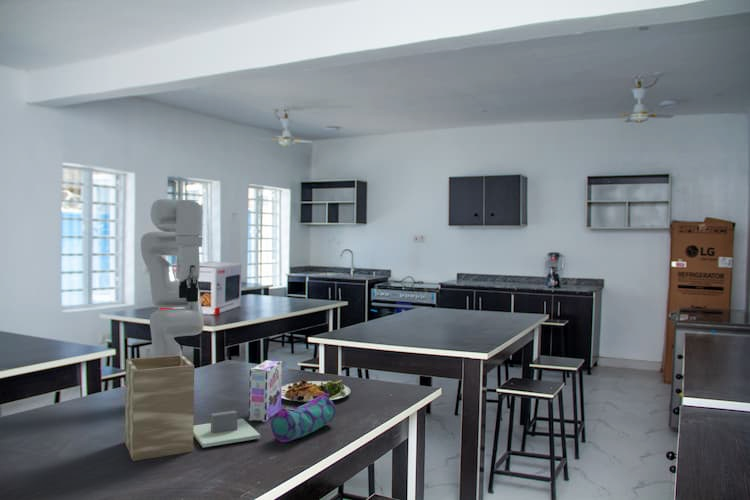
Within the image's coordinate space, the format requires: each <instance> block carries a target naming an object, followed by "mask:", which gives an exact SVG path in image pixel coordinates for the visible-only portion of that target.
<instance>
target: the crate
mask: <svg viewBox="0 0 750 500" xmlns="http://www.w3.org/2000/svg"><path fill="white" fill-rule="evenodd" d="M124 397H125V403H124V404H125V406H124V407H125V413H124V416H125V418H124V444H125V445H126V447H127V450H128V452H129V454H130V457H131V460H132V462H134V461H141V460H147V459H153V458H154V459H155V458H160V457H165V456H171V455H178V454H183V453H190V452H194V435H193V428H194V421H195V419H194V417H195V415H194V413H195V365H194V364H193V363H192V362H191V361H190V360H189V359H188V358H186V357H185V356H184V355H183V354H182V355H172V356H160V357H152V356H150V357H137V358H125V396H124Z"/></svg>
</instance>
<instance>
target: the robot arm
mask: <svg viewBox="0 0 750 500" xmlns="http://www.w3.org/2000/svg"><path fill="white" fill-rule="evenodd" d="M203 206H204V205H203V203H202V202H201V201H200V200H196V199H172V198H171V199H170V198H168V199H167V198H164V199H163V198H161V199H159V198H158V199H157V200H155V201H154V202H152V205H151V209H150V219H151V222H152V224H153V225H154V226H155V227H156V229H157V230H159V231H150V232H146V233H144V234H143V235H142V236H141V238H140V253H141V256H142V259H143V262H144V264H145V266H146V268H147V271H148V274H149V284H150V294H151V295H150V296H151V301H152V304H153V305H154V307H156V308H160V309H158V310H155V311H154V312H152V313H151V315H150V318H149V327H150V336H151V357H160V356H172V355H183V350H182V347H181V345H180V344H179V342H177V341H176V340H175V338H177V337H187V336H196V335H199V334H201V333H202V332H203V331H204V328H205V327H204V326H205V325H204V324H205V323H204V312H203V307H202V300H201V292H200V288H199V279H200V262H201V261H200V248H202V247H203V228H204V227H203V223H204V222H203V221H204V220H203V218H204V215H203V214H204V207H203ZM163 256H176V266H175V267H173V266H172V264H171V263H170V262H169V261H168V260H167V259H166V258H164V257H163ZM175 269H176V270H175Z"/></svg>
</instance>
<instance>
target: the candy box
mask: <svg viewBox="0 0 750 500" xmlns="http://www.w3.org/2000/svg"><path fill="white" fill-rule="evenodd" d="M282 368H283V362H282V361H281V360H280V361H279V360H267V359H266V360H264V361H263V362H261V363H260V364H258V365H256V366H254V367H252V368H250V370H249V394H248V395H249V397H248V421H250V422H260V423H267V422H268V421H269V420H270V419H272V417H273V415H274V414H275V413H277V412H278V411H279V410H281V409H282V398H281V387H282V386H283V383H282V379H283V377H282V376H283V375H282V374H283V372H282V371H283V369H282Z"/></svg>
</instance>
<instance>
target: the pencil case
mask: <svg viewBox="0 0 750 500" xmlns="http://www.w3.org/2000/svg"><path fill="white" fill-rule="evenodd" d="M328 397H329V394H326V393H324V394H323V395H322V396H318V397H316V398H315V399H313V400H312V401H310V402H305V403H304V404H302V405H299V406H297V407H296V408H290V407H285V408H281V410H279V411H278V412H277V413H275V414H274V415H273V417H272V418H270V419H271V420H270V429H271V432H272V434H273V436H274V438H275V439H277V440H278V441H279V442H280V443H288V442H292V441H293V440H297V439H300V438H303V437H305V436H309V435H310V434H312V433H313V432H315V431H318V430H319V429H322V428H323V427H325V426H326V425H328V424H330V423H332V422H333V421H334V420H335V416H336V406H335V404H334V402H333V400H330V399H328Z"/></svg>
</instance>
